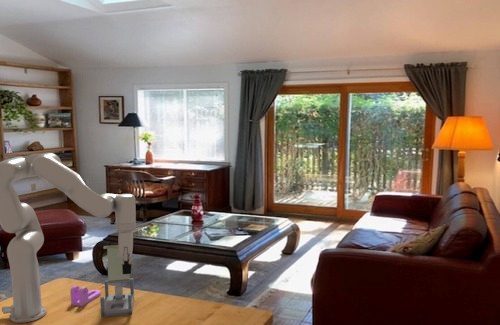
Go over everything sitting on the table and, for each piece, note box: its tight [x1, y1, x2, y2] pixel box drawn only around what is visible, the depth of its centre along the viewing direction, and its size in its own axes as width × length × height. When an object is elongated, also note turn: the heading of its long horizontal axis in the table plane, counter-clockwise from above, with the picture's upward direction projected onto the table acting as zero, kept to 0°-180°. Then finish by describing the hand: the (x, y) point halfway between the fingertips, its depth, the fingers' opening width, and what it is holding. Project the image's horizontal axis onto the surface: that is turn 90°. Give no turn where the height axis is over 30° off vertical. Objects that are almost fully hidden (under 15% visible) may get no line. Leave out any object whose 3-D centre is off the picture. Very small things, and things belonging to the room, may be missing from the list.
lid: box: [103, 244, 131, 284], centre depth 181 cm, size 11×15×1 cm
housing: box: [99, 277, 135, 318], centre depth 175 cm, size 11×15×8 cm
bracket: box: [69, 285, 102, 307], centre depth 183 cm, size 13×6×7 cm, turn 160°
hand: (127, 271), depth 173 cm, fingers closed on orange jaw, 3 cm apart
